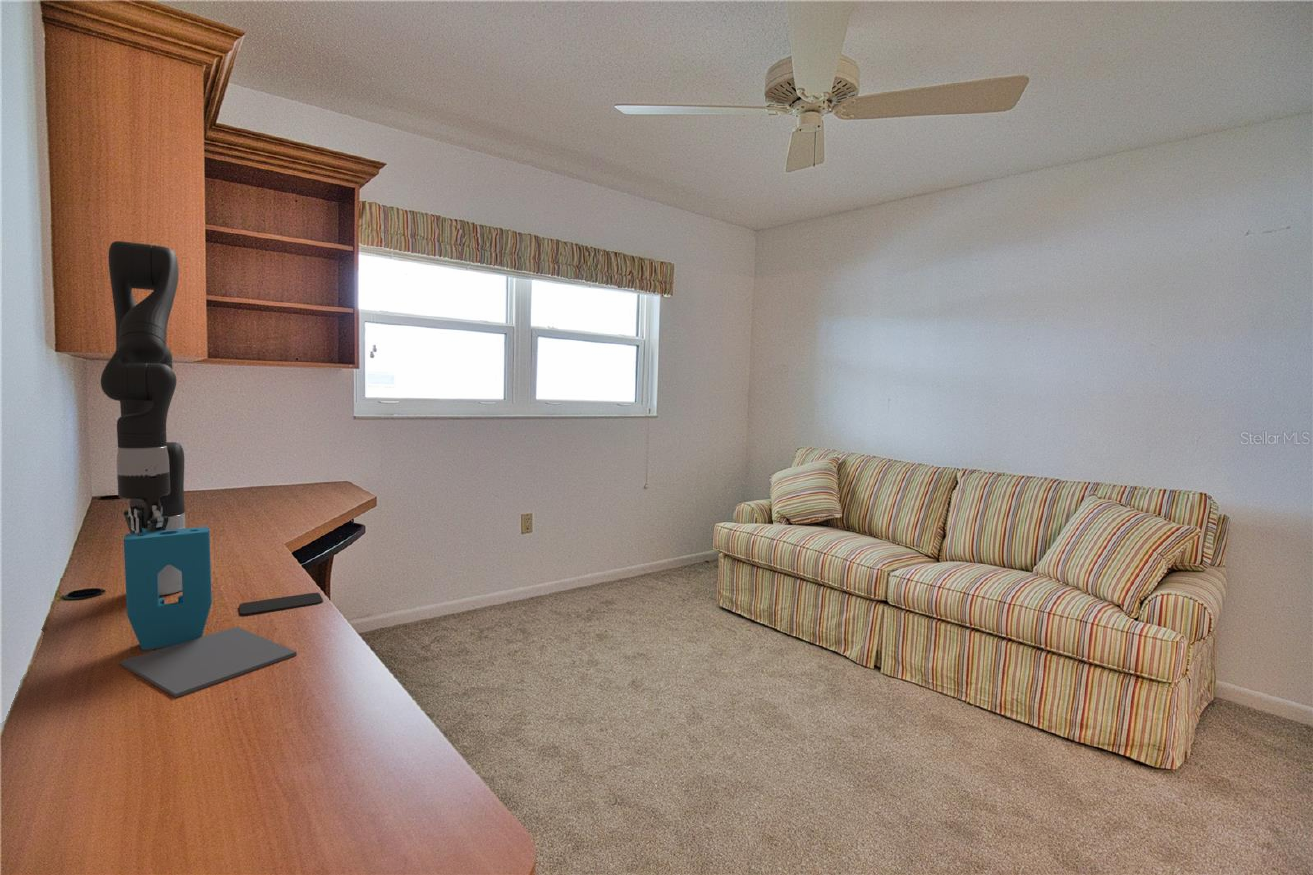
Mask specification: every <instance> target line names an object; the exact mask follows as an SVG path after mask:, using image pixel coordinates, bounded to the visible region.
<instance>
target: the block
mask: <svg viewBox="0 0 1313 875" xmlns="http://www.w3.org/2000/svg"><path fill="white" fill-rule="evenodd" d="M210 538H211V536H210V526H200V527H199V526H198V527H197V526H196V527H188V528H187V527H186V529H175V530H164V531H153V532H142V533H132V534H130V533H127V534H124V537H123V555H124V575H125V576H124V577H125V578H124V580H125V595H126V596H125V597H126V616H127V619H128V621H129V624H130V626H131V628H132V630H133V632H134V634H135V637H136V640H137V642H138V644H139V646H140V649H141V650H142V651H148V650H149V651H150V650H154V649H155V650H157V649H163V648H166V647H169V646H173V645H176V644H180V643H183V642H187V641H190V640H193V639H197V638H200V637H203V635H204V630H205V628H206V624H207V620H208V617H209V613H210V611H211V607H212V603H213V595H212V592H213V591H212V564H211V562H212V561H211V541H210V540H211V539H210ZM167 565H172V566H173V567H175V568H177V569H178V570H180V571H181V572H182V590H181V592H182V594H181V595H178V596H177V601H176V602H171V603H165V597H160V595H159V583H158V573H159V572H160V571H161V570H162V569H163V568H165V567H166V566H167Z"/></svg>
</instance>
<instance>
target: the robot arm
mask: <svg viewBox="0 0 1313 875" xmlns="http://www.w3.org/2000/svg"><path fill="white" fill-rule="evenodd" d="M108 248H109V249H108V269H109V278H110V284H111V285H110V287H111V293H112V294H111V295H112V300H113V308H114V318H115V351H114V353H113V355H112V356H111V357H110V359H109V361H107V363H106V365H105V366H104V369H103V370H102V373H101V377H100V387H101V389H102V390H101V391H102V392H103V393H104V394H105V396H106V397H108V398H109V399H111V400H113V401H116V402H117V401H118V402H119V404H120V405H119V407H120V417H118V419H117V420H116V433H117V434H116V435H117V437H116V439H117V452H116V453H117V454H116V474H117V476H116V477H117V478H116V479H117V496H118V498H120V499H122V500H123V499H124V500H129V506H128V509H127V510H124V511H123V516H124V519H125V522H126V524H127V528H128V531H129V534H132V533H142V532H153V531H164V530H175V529H186V528H187V527H186V508H185V507H186V506H185V492H184V491H185V489H184V487H185V485H184V484H185V483H184V482H185V452H184V449H183V447H182V445H181V444H180V443H179V442H174V441H170V442H169V441H167V420H168V414H169V409H170V406H171V402H172V400H173V397H174V393H175V390H176V388H177V387H176V386H177V377H176V374H175V373H176V372H175V371H174V370H173V354H172V351H171V350H170V348H169V347H168V345H167V335H168V334H167V329H168V324H169V318H170V315H171V312H172V308H173V305H174V301H175V297H176V292H177V289H178V285H179V284H178V283H179V273H180V272H179V261H178V257H177V255H176V253H175V251H174V250H173V249H172V248H169V247H166V246H161V245H155V244H148V243H139V242H129V241H122V240H121V241H120V240H119V241H118V240H116V241H113V242H112V243H111V244H110V246H109V247H108ZM133 289H135V290H136V289H137V290H147V291H152V292H150V294H149V295H148V296H147V297H145V298H144V299H142V300H141V301H140V302H139V303H137V302H136V299H135V297H134V294H133ZM158 583H159V596H165V595H166V596H167V595H171V594H174V593H178V592H182V572H181V571H180V570H178V569H177V568H175V567H173V566H172V565H167V566H166V567H165V568H163V569H162V570H161V571H160V572H159V573H158Z"/></svg>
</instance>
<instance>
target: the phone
mask: <svg viewBox="0 0 1313 875" xmlns="http://www.w3.org/2000/svg"><path fill="white" fill-rule="evenodd" d="M323 603H324V599H323V598H322V596H321V594H320V593H319V592H309V593H301V594H296V595H289V596H282V597H276V598H275V597H274V598H269V599H262V600H255V601H247V602H242V603H239V605H238V608H239V616H241V617H246V616H254V615H260V614H265V613H266V614H267V613H272V612H278V611H285V610H290V609H297V608H304V607H308V606H315V605H319V604H323Z"/></svg>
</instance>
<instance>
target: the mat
mask: <svg viewBox="0 0 1313 875" xmlns="http://www.w3.org/2000/svg"><path fill="white" fill-rule="evenodd" d="M297 655H298V654H297V650H294V649H291V648H289V647H286V646H284V645H282V644H279V643H277V642H275V641H272V640H270V639H268V638H265V637H263V636H260V635H259V634H256V633H254V632H251V631H248V629H247V630H246V629H244V628H242V627H239V626H235V627H231V628H228V629H224V630H221V631H218V632H214V633H210V634H208V635H205V636H202V637H200V638H197V639H193V640H190V641H187V642H183V643H180V644H176V645H173V646H167V647H162V648H158V649H155V650H153V651H149V652H145V653H142V654H140V655H135V656H132V657H129V658H126V659H122V660H119V665H120V666H122V667H123V668H125V669H127V670H129V672H132V673H134V674H136V675H137V676H139V677H141V679H143V680H146V682H149V683H150V684H151V685H154V686H156V687H157V688H159V689H160V690H162V691H164V692H166V693H167V694H169V695H171V696H173V697H174V698H178V697H182V696H186V695H188V694H190V693H193V692H196V691H199V690H202V689H204V688H208V687H211V686H212V685H215V684H218V683H219V684H220V683H221V682H224V681H226V680H227V681H228V680H231V679H233V678H236V677H238V676H240V675H244V674H247V673H250V672H252V671H255V670H257V669H260V668H264V667H266V666H269V665H273V664H275V663H278V662H280V661H284V660H287V659H289V658H292V657H294V656H297Z"/></svg>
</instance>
